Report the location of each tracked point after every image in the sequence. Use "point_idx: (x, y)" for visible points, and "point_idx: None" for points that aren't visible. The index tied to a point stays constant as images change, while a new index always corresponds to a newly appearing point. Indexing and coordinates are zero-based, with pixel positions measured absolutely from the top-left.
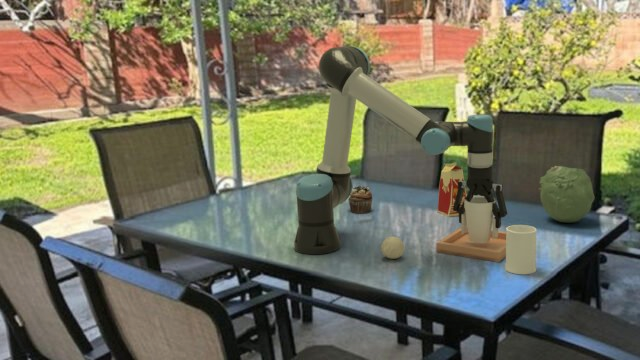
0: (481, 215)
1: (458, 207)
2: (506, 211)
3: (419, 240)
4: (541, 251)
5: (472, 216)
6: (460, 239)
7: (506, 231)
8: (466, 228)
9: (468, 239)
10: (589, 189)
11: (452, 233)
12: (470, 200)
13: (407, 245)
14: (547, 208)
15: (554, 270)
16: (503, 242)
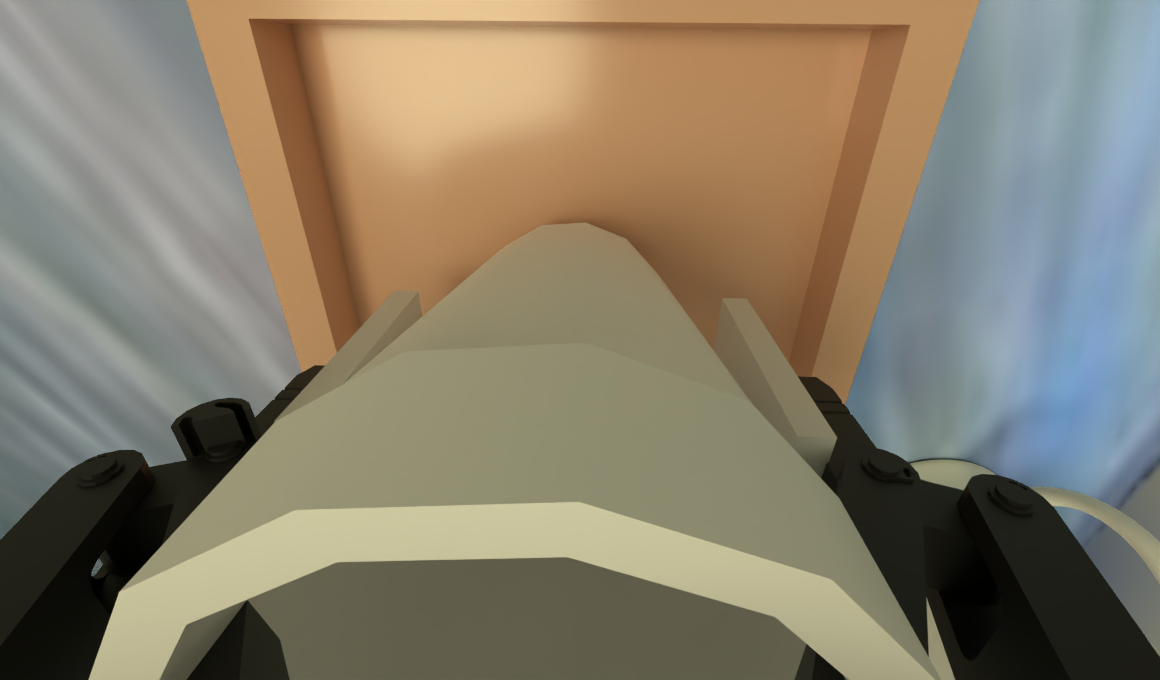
0: (646, 646)
1: (147, 536)
2: (1063, 556)
3: (103, 319)
4: (1105, 148)
5: (530, 634)
6: (369, 236)
7: None
8: (405, 327)
9: (427, 204)
10: None
11: (283, 284)
12: (249, 673)
13: (143, 436)
14: None
15: (1122, 474)
16: (753, 144)
